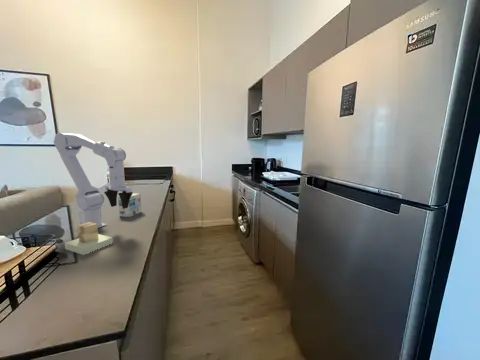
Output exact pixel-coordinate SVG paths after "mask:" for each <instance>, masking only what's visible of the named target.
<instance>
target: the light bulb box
mask: <svg viewBox="0 0 480 360" xmlns="http://www.w3.org/2000/svg"><path fill="white" fill-rule="evenodd" d="M117 202H118V203H117V204H118V213H119V215H118V216H119V217H123V218H124V217H125V218H130V217H133V216H135V215H137V214H140V213H142V196H141V193H138V192H136V193H135V192H133V194H132V195H131V197H130V200H129V205H128V208H125V209H123V207H122V202H121V199H120V196H119V195H118V196H117Z"/></svg>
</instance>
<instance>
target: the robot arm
mask: <svg viewBox="0 0 480 360" xmlns="http://www.w3.org/2000/svg"><path fill="white" fill-rule="evenodd" d="M53 144H54V146H55V148H56V150H57V152H58V154H59V155H60V158H61V160H62V162H63V164H64V166H65V168H66V170H67V171H68V174H69V175H70V177H71V179H72V181H73V183H74V185H75V186H76V189H77V190H78V191H77V192H76V193H75V195H74V197H75V199H76V204H77V207H78V208H79V211H78V221H79V225H81V224H85V223H88V222H92V223H96V224H97V227H98V229H99V228H102V227H105V226H107V225H108V224H107V223H104V222H103V217H102V207H103V204H104V203H105V196H106V198H107V200H108V201H109V204H110V206H111V207H112V208H113V207H117V204H118V203H117V202H118V197H119V196H120V199H121V202H122V207H123V209H125V208H128V205H129V200H130V197H131V195H132V194H133V193H134V192H133V191H132V187H129V186H127V185H126V179H125V164H124V161H125V160H126V158H127V154H126V151H125V150H124V149H123V148H121V147H118V148H116V147H114V146H113V145H109V144H107V143H106V142H105V141H97V142H95V141H94V140H92V139H89V138H88V137H86V136H84V134H80V133H67V132H66V133H62V132H57V133H56V134H55V135H54V139H53ZM82 147H84V148H87V149H90V150H92V152H93V154H95V155H97V156H99V157H102V158H104V159H105V162H107V163H106V164H107V166H108V174H109V184H107V185H104V189H105V191H104V194H105V195H104V194H103V193H102V192H101V191H100V190H99V188H97V187H95V186H93V185H92V184H91V181H90V180H89V178H88V177H87V174H86V172H85V170H84V169H83V167H82V165H81V163H80V162H79V159H78V157H77V154H79V153H80V151H81V149H82Z"/></svg>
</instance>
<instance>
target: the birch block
mask: <svg viewBox="0 0 480 360" xmlns="http://www.w3.org/2000/svg"><path fill="white" fill-rule="evenodd" d="M77 232H78V233H77V234H78V238H79V241H81V242H84V243H89V242H92V241H95V240H97V239H99V238H98V234H99V228H98V227H97V224H96V223H92V222H88V223H85V224H81V225H80V224H78V225H77Z"/></svg>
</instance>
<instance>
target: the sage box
mask: <svg viewBox="0 0 480 360" xmlns="http://www.w3.org/2000/svg"><path fill="white" fill-rule="evenodd" d="M98 238H99V239H97V240H95V241H92V242H89V243H84V242H81V241H79V237H78V238H75V239H71V240H69V241H64V247H65V248H64V249H65V250H66V251H70V252H73V253H76V254H79V255H82V256H85V254H86V255H88V254H90V252H91V253H93V252H96V251H98V250H100V248H101V249H103V248H105V246H106V247H107V245H108V246H110V245H109V244H111V245H113V244H114V242H113V241H114V240H113V237H111V236H108V235H103V234H100V233H98ZM112 243H113V244H112ZM102 247H103V248H102ZM97 249H98V250H97ZM95 250H96V251H95ZM92 251H93V252H92Z"/></svg>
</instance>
